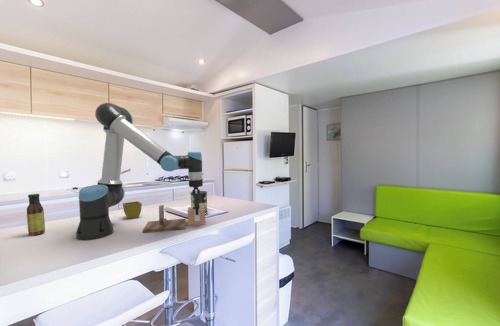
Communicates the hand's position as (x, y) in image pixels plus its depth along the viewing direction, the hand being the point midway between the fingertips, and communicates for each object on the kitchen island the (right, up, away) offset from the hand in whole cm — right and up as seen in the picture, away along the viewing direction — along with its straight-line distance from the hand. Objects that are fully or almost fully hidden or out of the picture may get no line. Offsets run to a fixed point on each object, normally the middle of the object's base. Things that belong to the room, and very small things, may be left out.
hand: (197, 217), depth 131 cm
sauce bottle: (-76, -5, -15) cm, 77 cm away
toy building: (0, -3, 0) cm, 3 cm away
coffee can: (-3, -3, +20) cm, 20 cm away
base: (-15, -4, -6) cm, 17 cm away
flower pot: (-43, -3, +13) cm, 45 cm away
